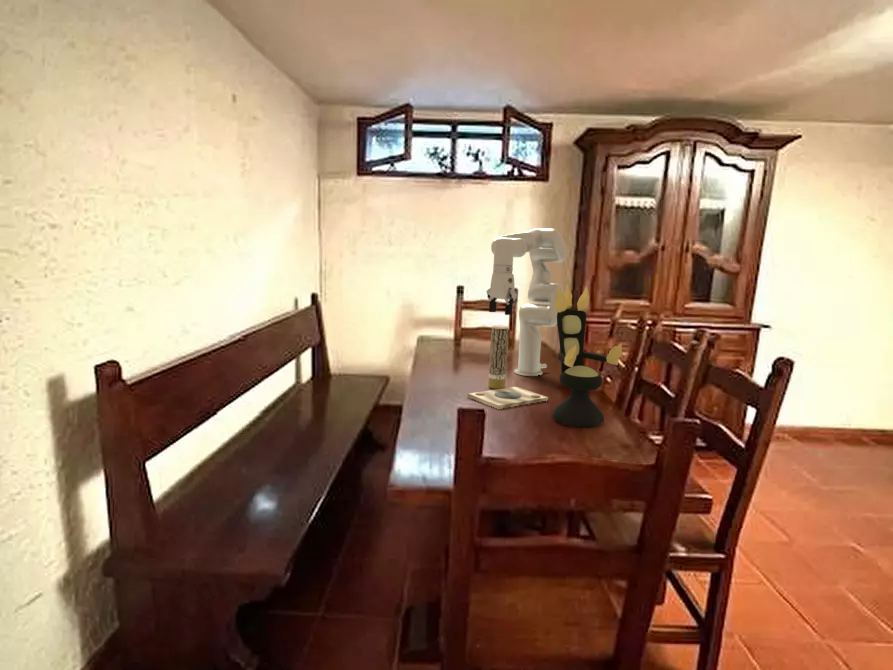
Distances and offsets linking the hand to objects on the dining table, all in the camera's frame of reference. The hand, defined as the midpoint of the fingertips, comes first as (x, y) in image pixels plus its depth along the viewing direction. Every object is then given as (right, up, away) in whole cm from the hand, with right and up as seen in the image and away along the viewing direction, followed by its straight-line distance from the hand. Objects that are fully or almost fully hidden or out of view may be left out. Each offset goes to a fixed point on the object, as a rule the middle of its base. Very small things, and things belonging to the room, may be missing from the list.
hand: (500, 313), depth 233 cm
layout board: (+2, -33, -12) cm, 35 cm away
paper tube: (-1, -30, +5) cm, 30 cm away
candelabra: (+21, -37, -35) cm, 55 cm away
